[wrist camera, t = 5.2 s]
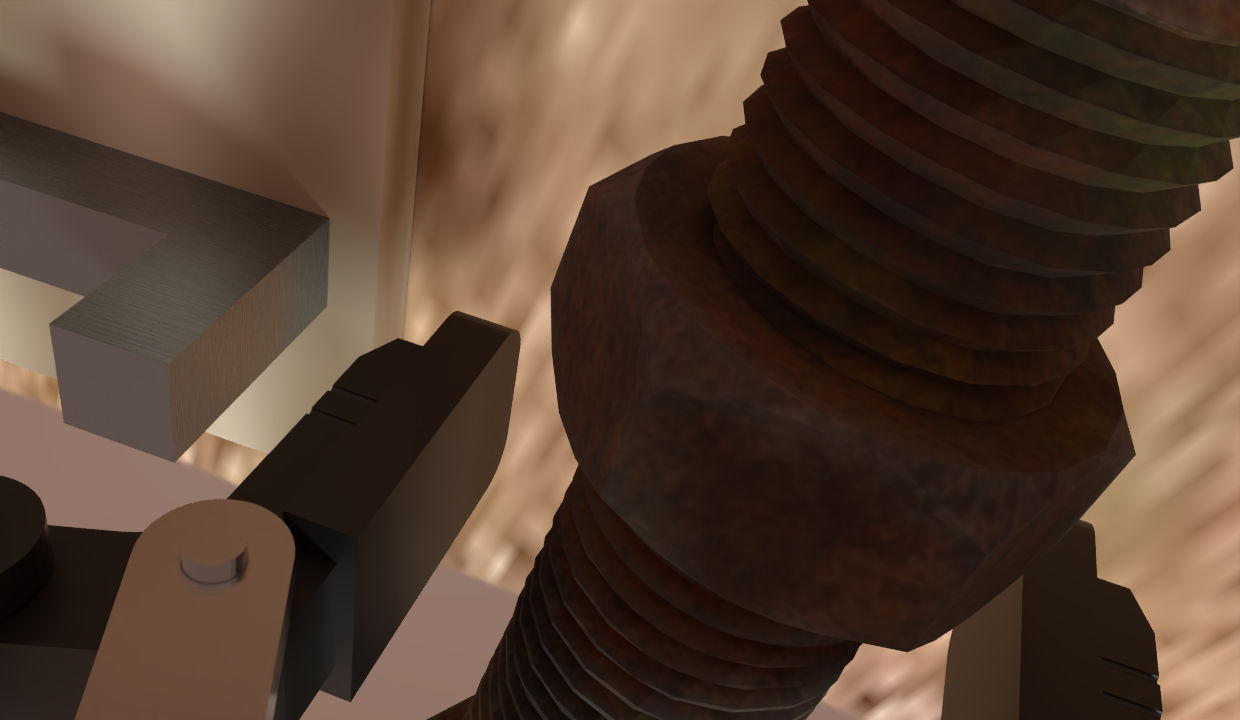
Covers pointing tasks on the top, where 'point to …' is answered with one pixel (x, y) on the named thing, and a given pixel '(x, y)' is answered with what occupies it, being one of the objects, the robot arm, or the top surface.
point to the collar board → (241, 149)
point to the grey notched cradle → (154, 282)
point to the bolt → (855, 347)
